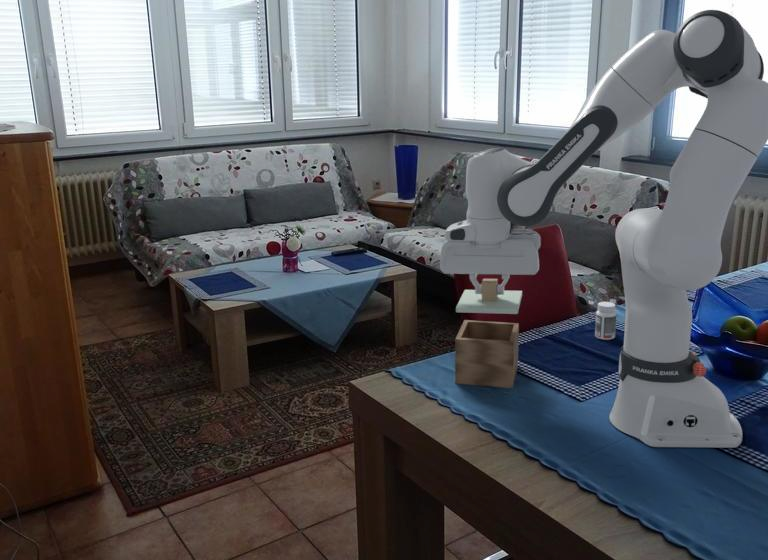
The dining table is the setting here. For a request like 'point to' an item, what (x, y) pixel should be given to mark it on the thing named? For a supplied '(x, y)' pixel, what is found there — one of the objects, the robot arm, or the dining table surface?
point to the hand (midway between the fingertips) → (489, 293)
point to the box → (486, 353)
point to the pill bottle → (605, 321)
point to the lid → (489, 300)
